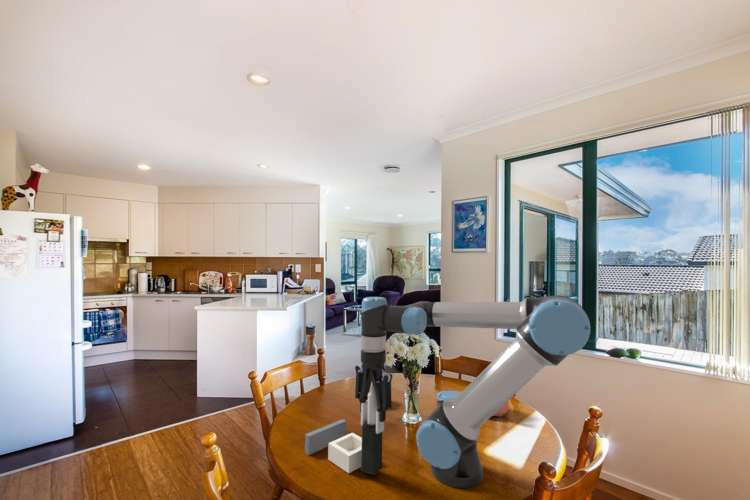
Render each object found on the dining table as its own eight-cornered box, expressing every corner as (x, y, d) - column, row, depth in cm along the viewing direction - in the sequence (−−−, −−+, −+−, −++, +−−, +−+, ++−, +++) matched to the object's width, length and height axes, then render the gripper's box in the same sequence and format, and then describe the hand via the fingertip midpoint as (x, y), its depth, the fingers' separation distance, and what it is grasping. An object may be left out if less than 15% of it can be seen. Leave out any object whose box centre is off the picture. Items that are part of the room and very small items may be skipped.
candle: (374, 476, 98) (375, 387, 99) (359, 470, 100) (361, 383, 101) (383, 467, 102) (384, 382, 103) (369, 461, 105) (370, 378, 106)
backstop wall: (346, 437, 122) (346, 420, 122) (308, 455, 111) (308, 436, 111) (342, 435, 123) (343, 418, 123) (304, 452, 112) (305, 434, 112)
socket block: (372, 460, 108) (373, 443, 108) (348, 473, 101) (349, 456, 101) (352, 447, 115) (352, 432, 115) (328, 459, 108) (328, 443, 108)
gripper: (405, 353, 99) (404, 435, 98) (361, 341, 112) (360, 414, 111) (387, 357, 93) (386, 444, 92) (343, 345, 106) (342, 421, 106)
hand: (372, 427), depth 102 cm, fingers closed on candle, 6 cm apart
